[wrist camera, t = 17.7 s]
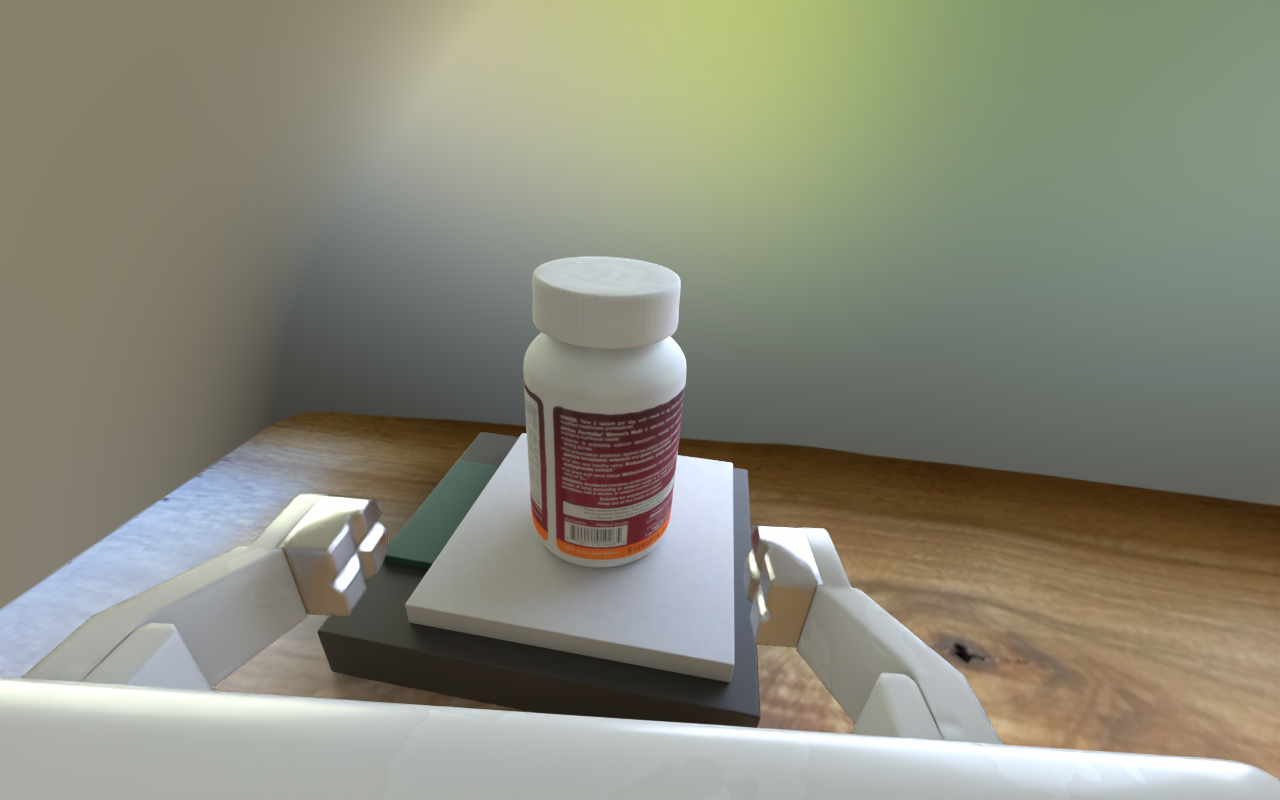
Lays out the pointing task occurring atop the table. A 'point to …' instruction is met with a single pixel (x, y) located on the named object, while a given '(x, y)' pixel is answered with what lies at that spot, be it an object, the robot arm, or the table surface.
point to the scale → (561, 604)
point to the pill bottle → (603, 407)
